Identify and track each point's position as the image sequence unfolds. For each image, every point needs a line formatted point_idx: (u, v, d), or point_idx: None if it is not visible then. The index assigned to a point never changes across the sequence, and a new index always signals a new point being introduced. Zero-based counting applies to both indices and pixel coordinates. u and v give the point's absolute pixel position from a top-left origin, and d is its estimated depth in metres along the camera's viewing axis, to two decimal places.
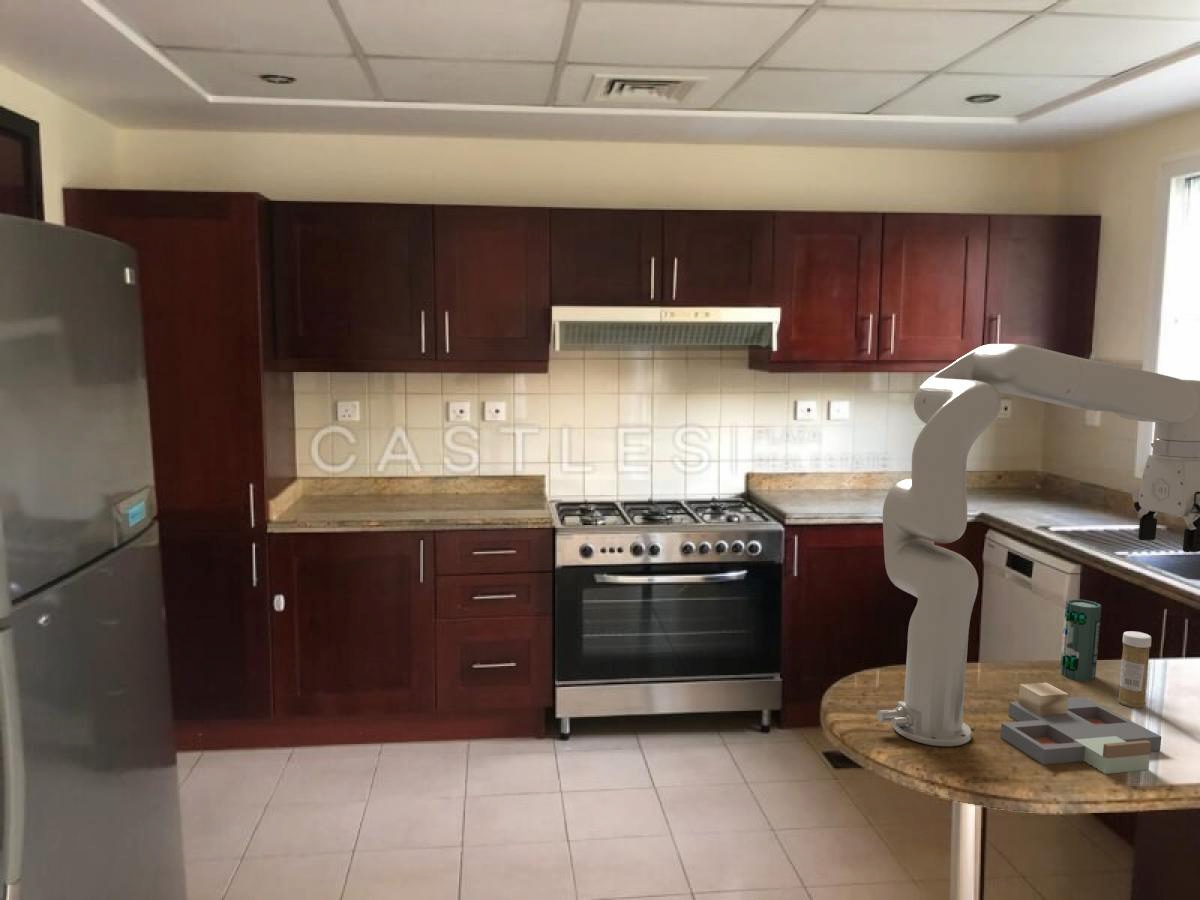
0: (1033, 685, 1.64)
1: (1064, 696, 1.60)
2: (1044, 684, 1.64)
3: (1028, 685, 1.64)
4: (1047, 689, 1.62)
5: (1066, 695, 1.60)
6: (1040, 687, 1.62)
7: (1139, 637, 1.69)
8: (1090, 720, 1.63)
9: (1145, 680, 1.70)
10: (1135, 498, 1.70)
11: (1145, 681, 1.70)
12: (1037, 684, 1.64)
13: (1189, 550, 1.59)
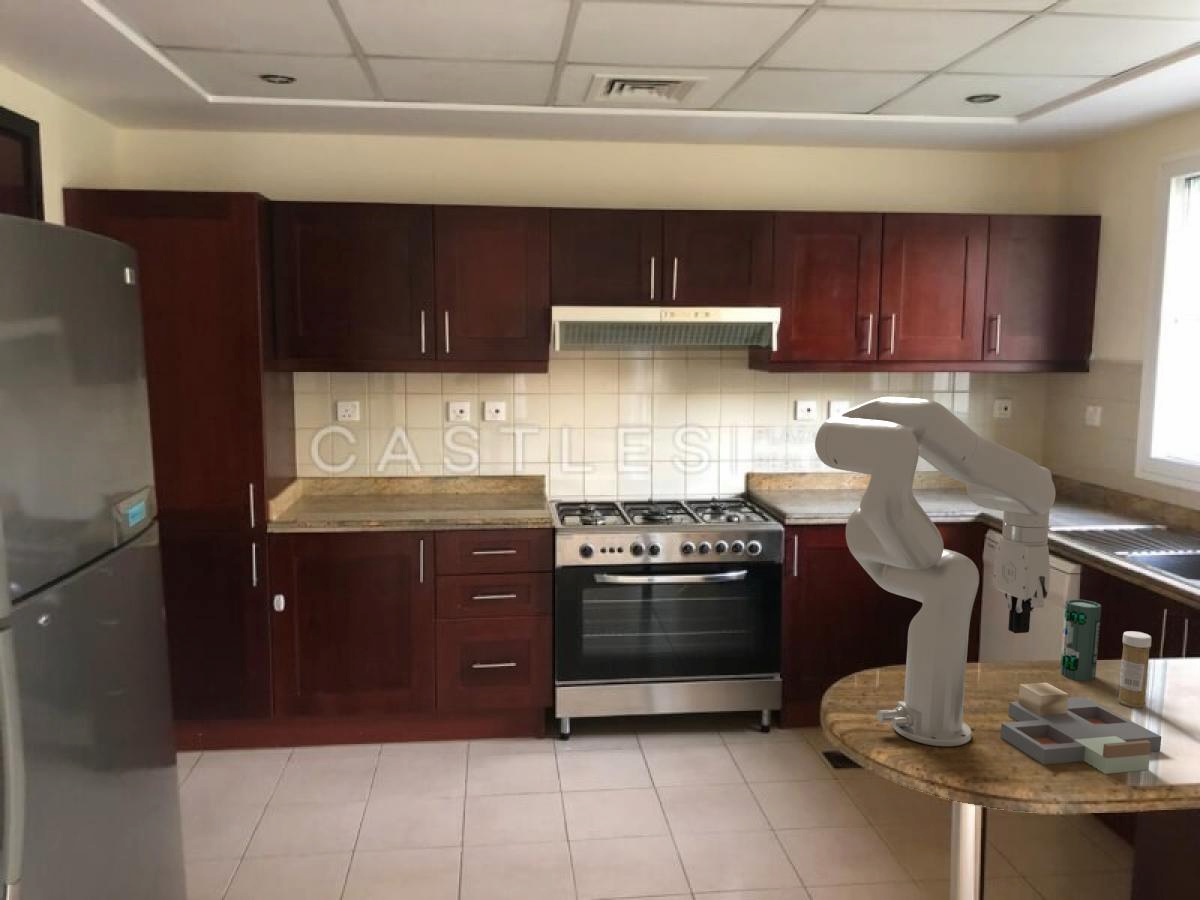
0: (1033, 685, 1.64)
1: (1064, 696, 1.60)
2: (1044, 684, 1.64)
3: (1028, 685, 1.64)
4: (1047, 689, 1.62)
5: (1066, 695, 1.60)
6: (1040, 687, 1.62)
7: (1139, 637, 1.69)
8: (1090, 720, 1.63)
9: (1145, 680, 1.70)
10: (1004, 591, 1.72)
11: (1145, 681, 1.70)
12: (1037, 684, 1.64)
13: (1017, 631, 1.68)
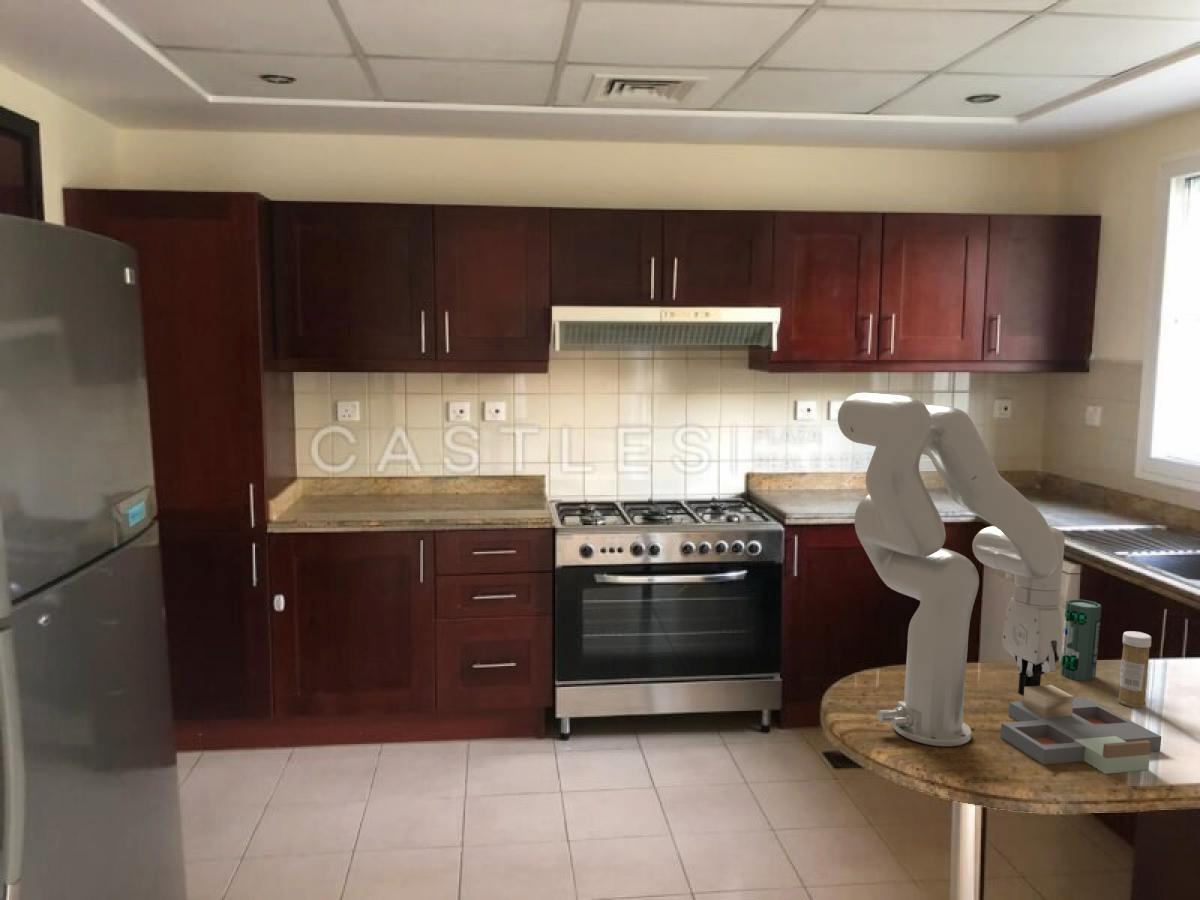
0: (1038, 687, 1.63)
1: (1069, 699, 1.59)
2: (1049, 686, 1.63)
3: (1033, 687, 1.62)
4: (1052, 692, 1.61)
5: (1071, 697, 1.59)
6: (1045, 690, 1.61)
7: (1139, 637, 1.69)
8: (1090, 720, 1.63)
9: (1145, 680, 1.70)
10: (1014, 653, 1.69)
11: (1145, 681, 1.70)
12: (1042, 686, 1.63)
13: None
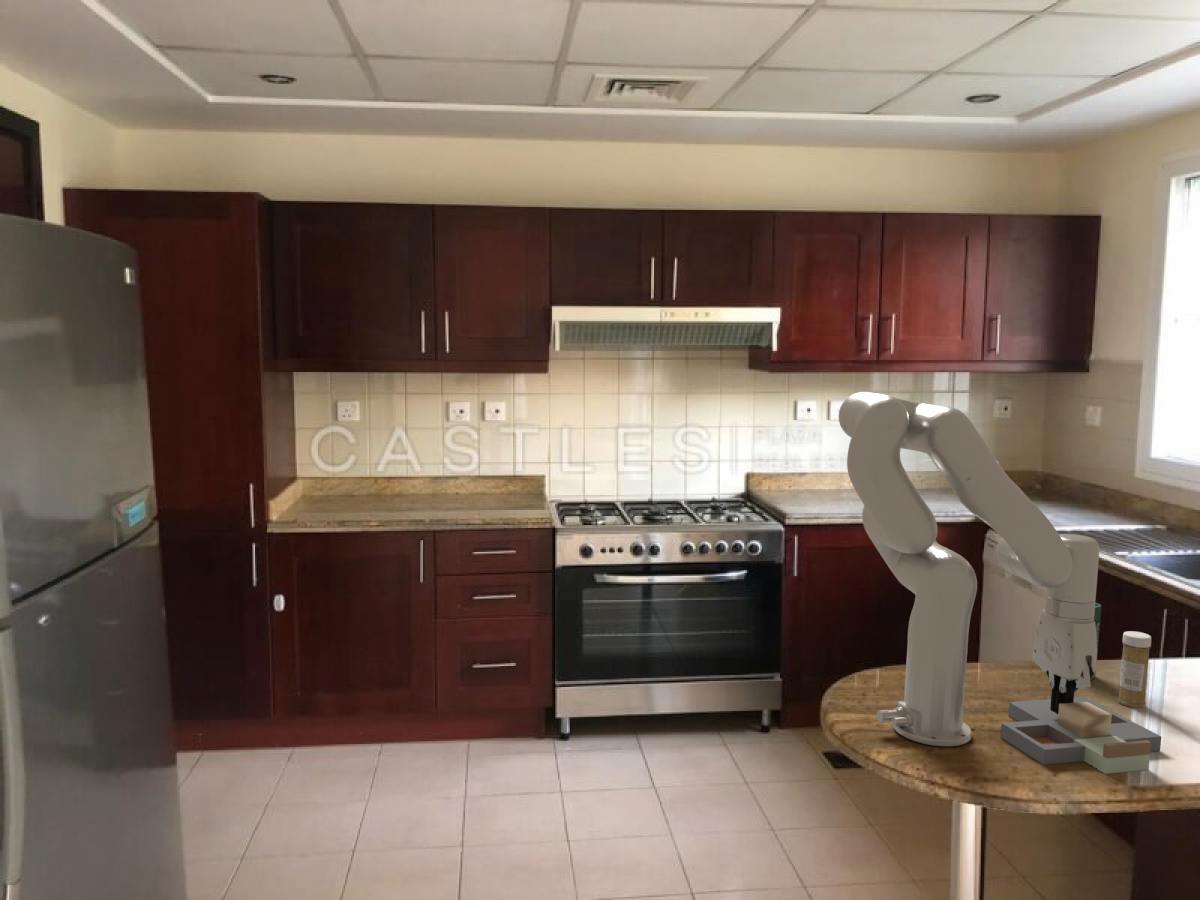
0: (1073, 704, 1.55)
1: (1107, 717, 1.51)
2: (1085, 703, 1.55)
3: (1068, 705, 1.55)
4: (1089, 709, 1.53)
5: (1109, 715, 1.51)
6: (1081, 707, 1.54)
7: (1139, 637, 1.69)
8: None
9: (1145, 680, 1.70)
10: None
11: (1145, 681, 1.70)
12: (1077, 703, 1.55)
13: None
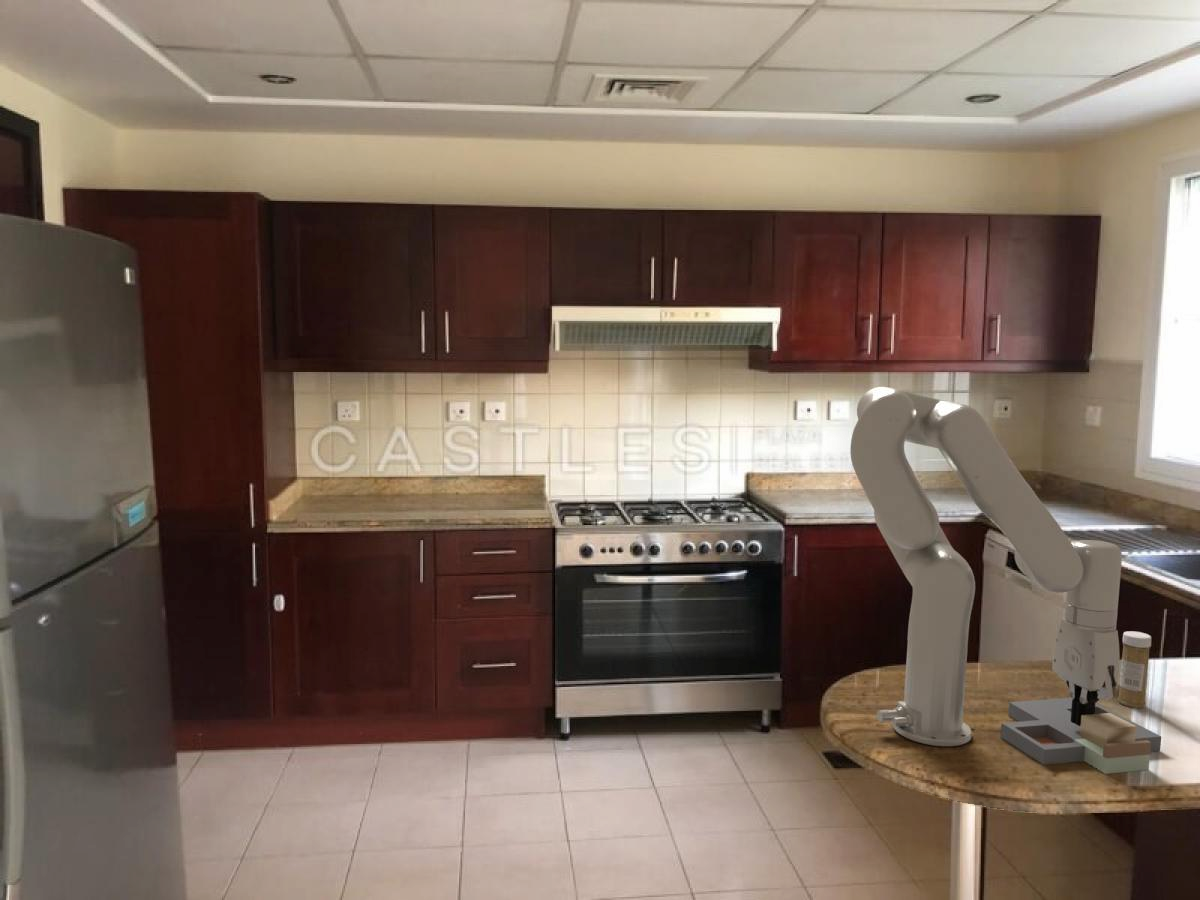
0: (1096, 716, 1.50)
1: (1132, 729, 1.46)
2: (1108, 715, 1.51)
3: (1091, 716, 1.50)
4: (1112, 721, 1.48)
5: (1134, 728, 1.46)
6: (1104, 719, 1.49)
7: (1139, 637, 1.69)
8: None
9: (1145, 680, 1.70)
10: None
11: (1145, 681, 1.70)
12: (1100, 715, 1.51)
13: None
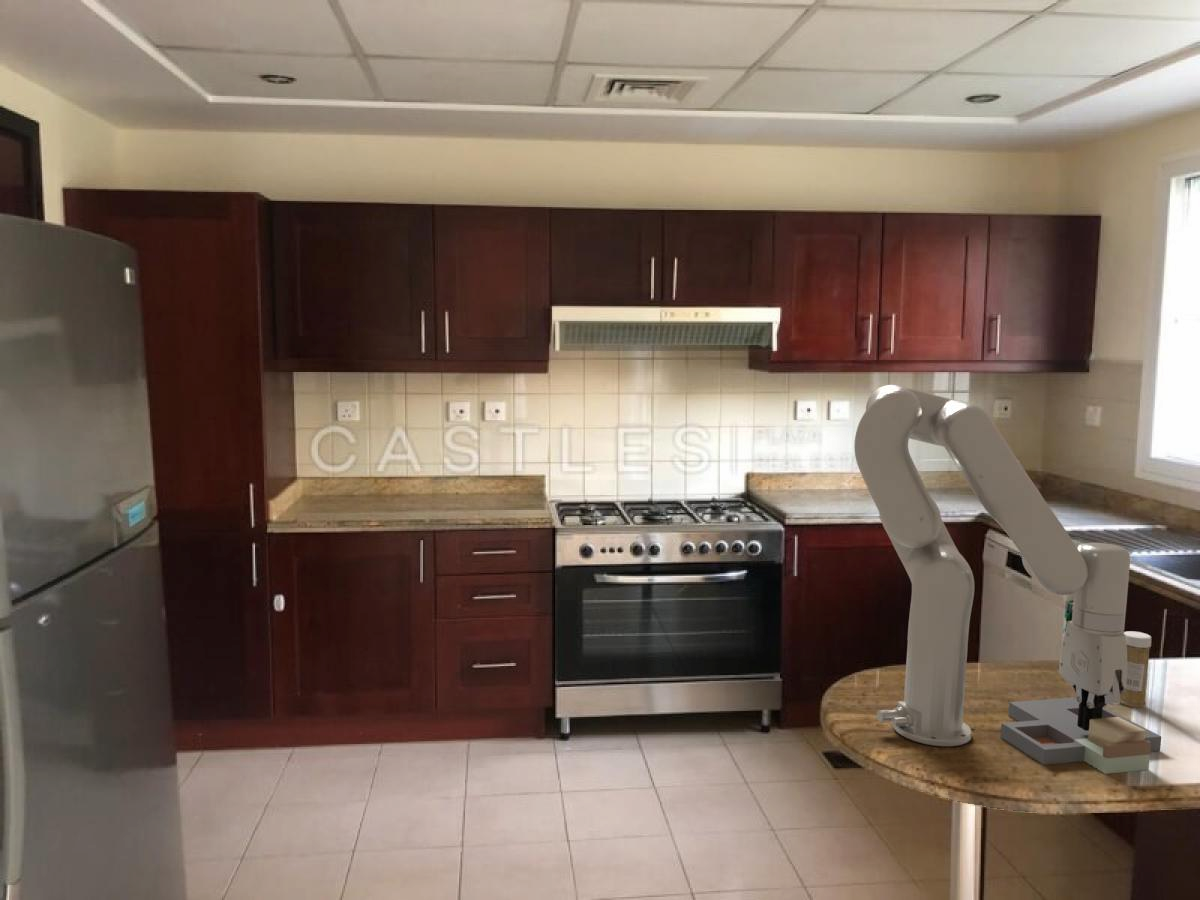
0: (1104, 720, 1.49)
1: (1141, 733, 1.45)
2: (1116, 719, 1.49)
3: (1099, 720, 1.48)
4: (1121, 725, 1.47)
5: (1143, 732, 1.45)
6: (1113, 723, 1.47)
7: (1139, 637, 1.69)
8: None
9: (1145, 680, 1.70)
10: None
11: (1145, 681, 1.70)
12: (1109, 719, 1.49)
13: (1088, 728, 1.51)
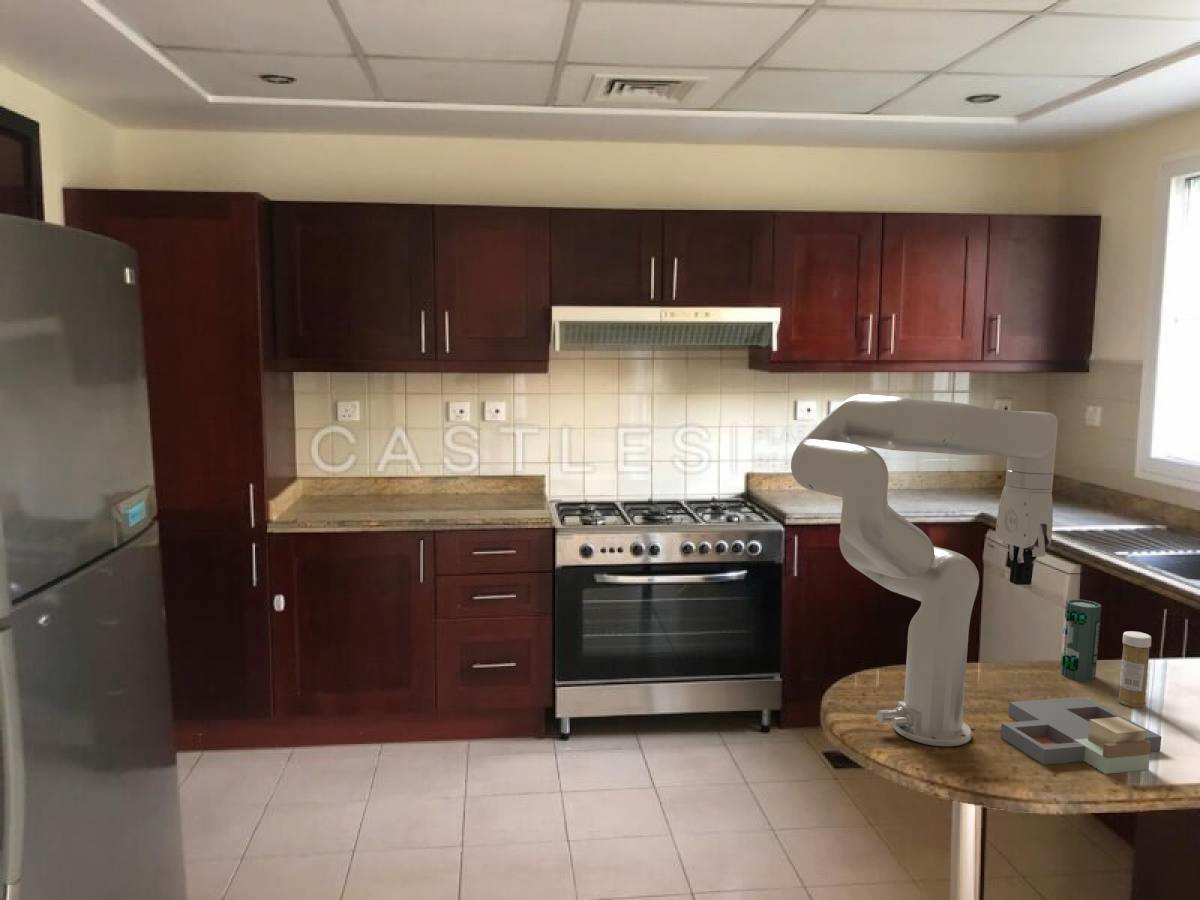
0: (1104, 720, 1.49)
1: (1141, 733, 1.45)
2: (1116, 719, 1.49)
3: (1099, 720, 1.48)
4: (1121, 725, 1.47)
5: (1143, 732, 1.45)
6: (1113, 723, 1.47)
7: (1139, 637, 1.69)
8: None
9: (1145, 680, 1.70)
10: (1007, 543, 1.67)
11: (1145, 681, 1.70)
12: (1109, 719, 1.49)
13: (1019, 583, 1.63)
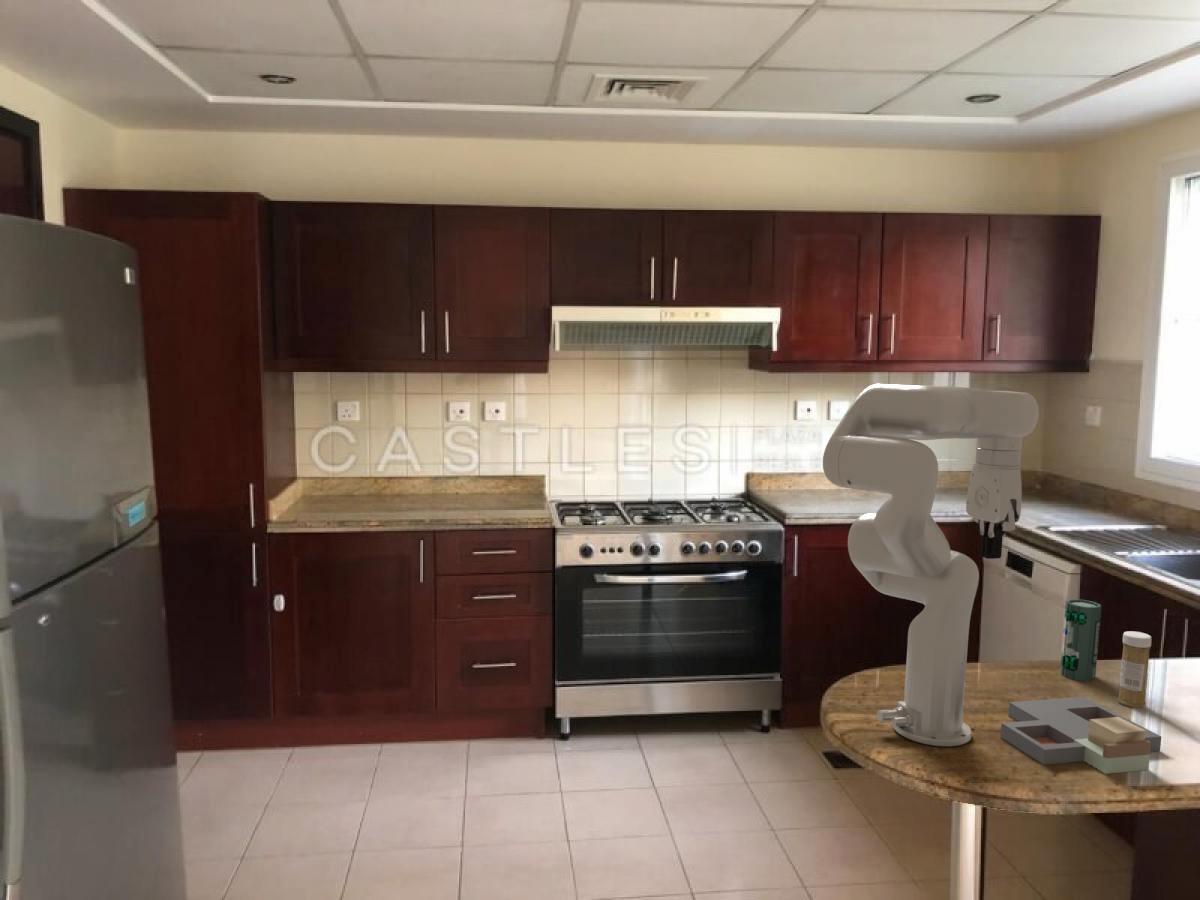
0: (1104, 720, 1.49)
1: (1141, 733, 1.45)
2: (1116, 719, 1.49)
3: (1099, 720, 1.48)
4: (1121, 725, 1.47)
5: (1143, 732, 1.45)
6: (1113, 723, 1.47)
7: (1139, 637, 1.69)
8: None
9: (1145, 680, 1.70)
10: (977, 519, 1.73)
11: (1145, 681, 1.70)
12: (1109, 719, 1.49)
13: (989, 556, 1.69)
